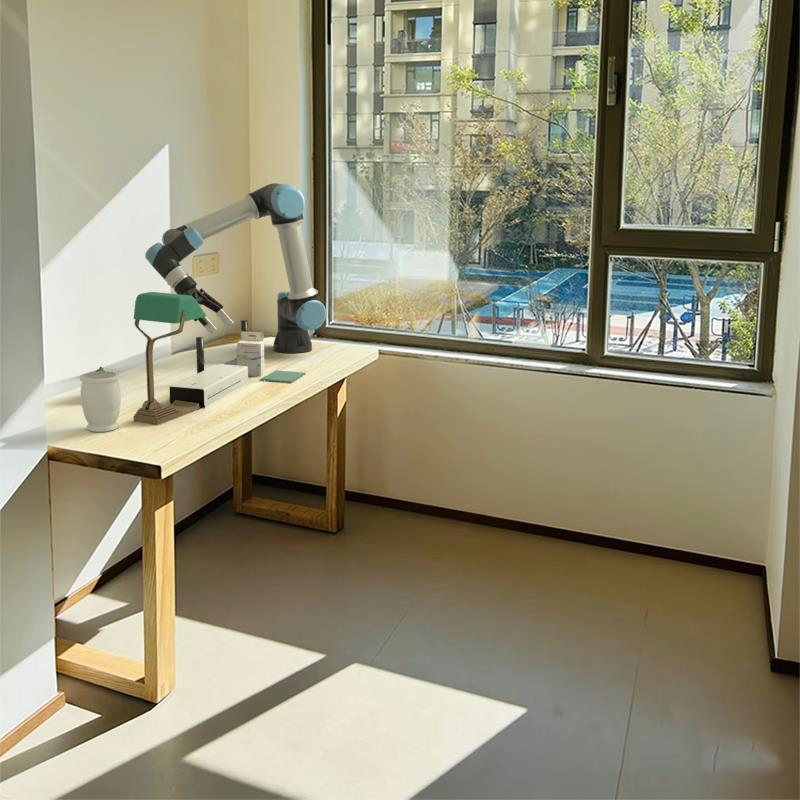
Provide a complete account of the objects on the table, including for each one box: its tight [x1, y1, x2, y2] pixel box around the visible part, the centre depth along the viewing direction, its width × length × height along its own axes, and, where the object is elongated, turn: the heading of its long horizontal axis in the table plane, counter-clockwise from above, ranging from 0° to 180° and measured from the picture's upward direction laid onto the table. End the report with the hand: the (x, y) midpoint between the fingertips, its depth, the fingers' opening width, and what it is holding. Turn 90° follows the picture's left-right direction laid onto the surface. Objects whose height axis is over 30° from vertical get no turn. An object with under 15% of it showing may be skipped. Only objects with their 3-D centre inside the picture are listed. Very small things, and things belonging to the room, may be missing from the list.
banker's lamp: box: [132, 291, 208, 426], centre depth 265 cm, size 16×21×35 cm
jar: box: [79, 370, 122, 433], centre depth 252 cm, size 11×10×15 cm
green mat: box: [260, 369, 306, 384], centre depth 318 cm, size 14×11×1 cm
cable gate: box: [195, 319, 249, 374], centre depth 321 cm, size 38×6×16 cm, turn 166°
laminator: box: [169, 363, 249, 409], centre depth 293 cm, size 34×12×6 cm, turn 166°
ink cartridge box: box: [236, 331, 265, 377], centre depth 319 cm, size 9×5×15 cm, turn 84°
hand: (222, 328), depth 319 cm, fingers open, 13 cm apart
